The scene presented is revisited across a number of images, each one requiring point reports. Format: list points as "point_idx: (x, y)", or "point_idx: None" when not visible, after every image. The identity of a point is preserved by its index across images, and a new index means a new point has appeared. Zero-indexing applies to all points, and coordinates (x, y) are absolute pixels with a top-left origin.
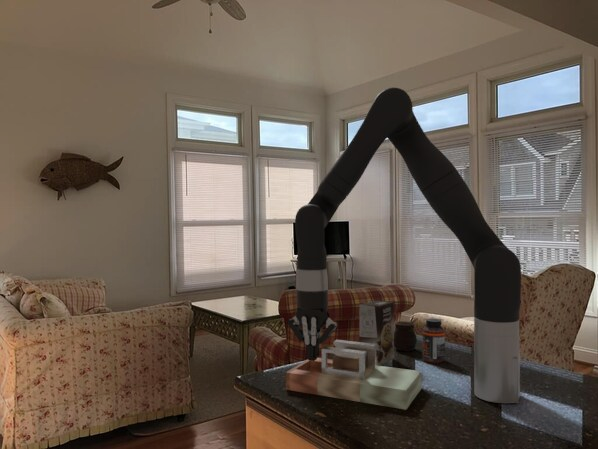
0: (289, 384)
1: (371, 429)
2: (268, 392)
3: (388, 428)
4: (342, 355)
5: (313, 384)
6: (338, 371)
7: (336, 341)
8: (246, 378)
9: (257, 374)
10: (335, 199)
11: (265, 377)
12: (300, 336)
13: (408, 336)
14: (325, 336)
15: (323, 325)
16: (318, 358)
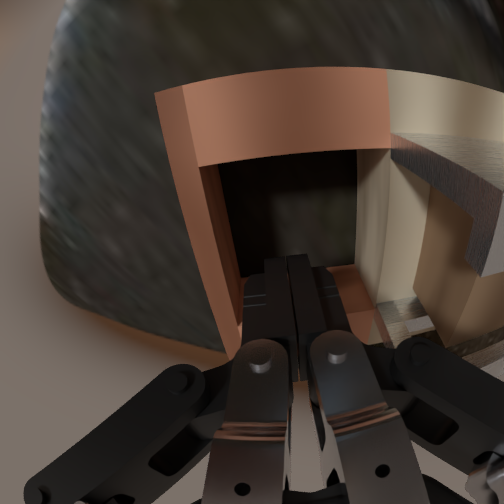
0: None
1: (468, 351)
2: (207, 345)
3: (490, 335)
4: (487, 317)
5: None
6: None
7: (500, 262)
8: (70, 293)
9: (55, 250)
10: None
11: (91, 259)
12: (206, 444)
13: None
14: (443, 426)
15: (448, 500)
16: (220, 92)
